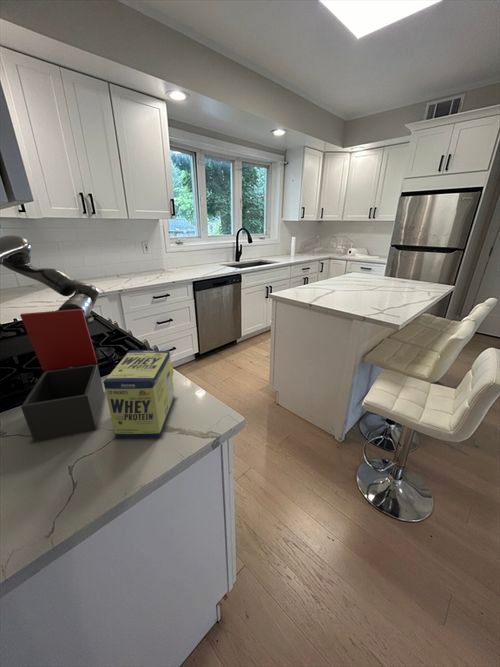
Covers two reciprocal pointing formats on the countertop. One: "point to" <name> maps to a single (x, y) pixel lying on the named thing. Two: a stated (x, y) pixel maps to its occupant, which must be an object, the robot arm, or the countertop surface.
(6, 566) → the countertop surface
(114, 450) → the countertop surface
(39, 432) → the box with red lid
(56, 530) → the countertop surface
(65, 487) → the countertop surface
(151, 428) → the protein box
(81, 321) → the lid
